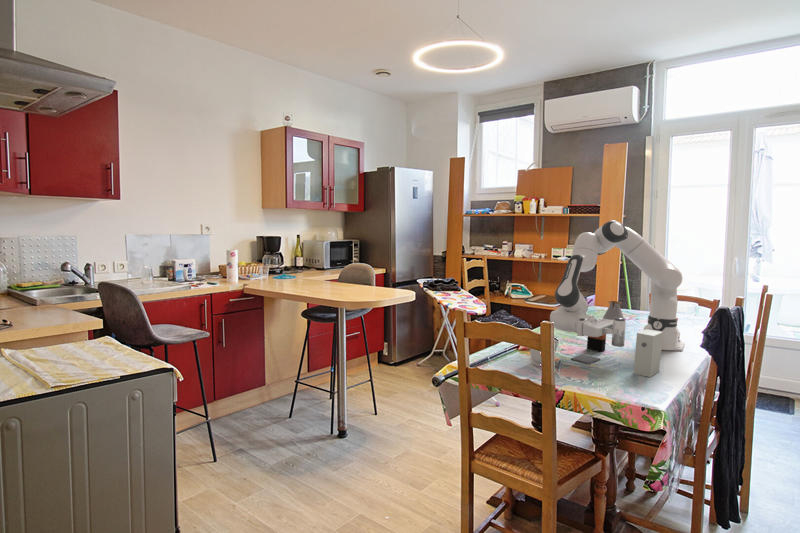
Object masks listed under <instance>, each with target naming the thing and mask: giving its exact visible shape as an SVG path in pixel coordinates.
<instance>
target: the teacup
mask: <svg viewBox="0 0 800 533" xmlns="http://www.w3.org/2000/svg"><path fill="white" fill-rule="evenodd" d="M559 344H560V342H559V340H558V339H555V354H556V352H557V348H558V345H559ZM529 352H530V358H531V359H532V361H533V362H534V366H536V367H540V364H541V354H540V351H537V350H534V349H530V348H529Z"/></svg>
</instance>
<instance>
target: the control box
mask: <svg viewBox="0 0 800 533" xmlns="http://www.w3.org/2000/svg"><path fill="white" fill-rule="evenodd" d="M662 337H663V332H660V331H654V330H649V329H645V330H644V329H643V330H640V331H638V332H636V338H635V340H636V342H635V352H634V353H635V354H634V365H633V374H635V375H639V376H644V377H646V376H647V377H648V378H652V377H653V376H655V375H657V374H658V373H660V369H661V358H662V356H661V355H662V350H661V347H662Z"/></svg>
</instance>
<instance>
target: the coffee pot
mask: <svg viewBox="0 0 800 533" xmlns="http://www.w3.org/2000/svg"><path fill="white" fill-rule="evenodd" d="M607 302H608V303H609V306H608V308H607V309H606V311H605V314H604V315H603V317H602V319H608V320H613V319H614V317H620V318H625V317H624V314H623V311H622V309H621V304H622V301H614V300H610V301H609V300H608V301H607Z"/></svg>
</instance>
